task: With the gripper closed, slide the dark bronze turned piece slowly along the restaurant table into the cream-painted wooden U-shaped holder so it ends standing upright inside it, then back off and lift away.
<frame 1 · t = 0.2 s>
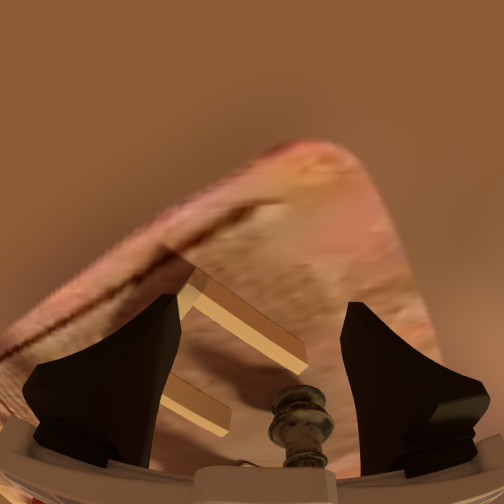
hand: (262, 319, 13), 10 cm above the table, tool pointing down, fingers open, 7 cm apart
shaker holder: (211, 353, 26), on the table
dark bronze turned piece: (298, 403, 28), on the table
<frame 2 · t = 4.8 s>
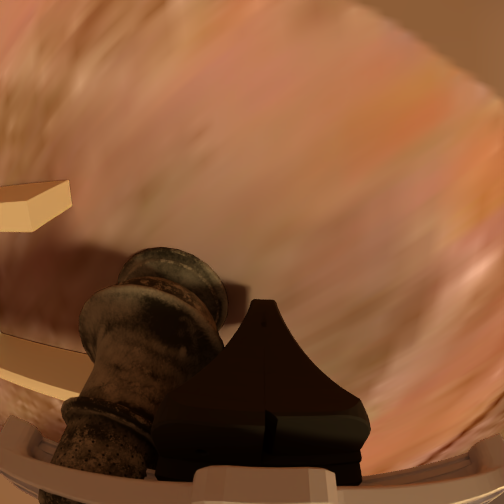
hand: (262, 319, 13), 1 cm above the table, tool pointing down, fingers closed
shaker holder: (17, 283, 14), on the table
dark bronze turned piece: (171, 297, 14), on the table, touching gripper
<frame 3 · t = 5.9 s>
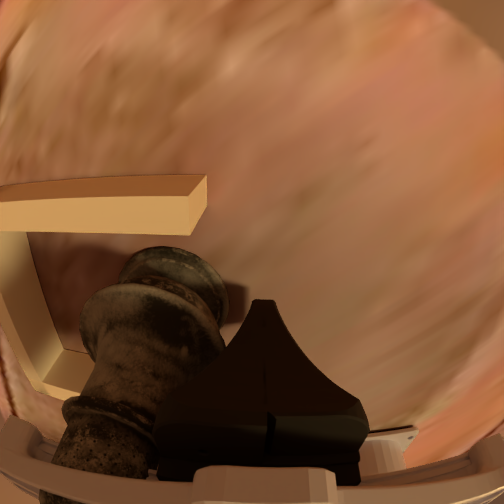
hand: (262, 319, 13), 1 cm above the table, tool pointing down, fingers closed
shaker holder: (103, 294, 14), on the table
dark bronze turned piece: (172, 297, 14), on the table, touching gripper
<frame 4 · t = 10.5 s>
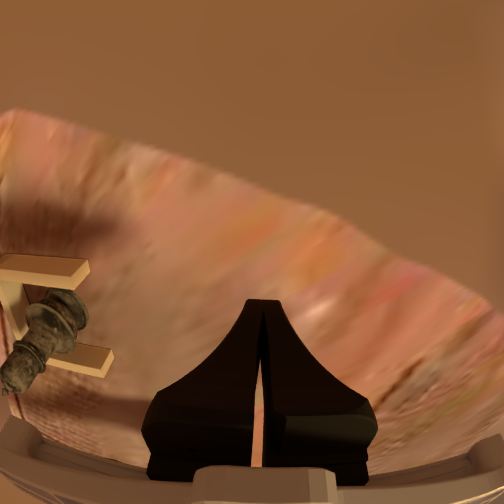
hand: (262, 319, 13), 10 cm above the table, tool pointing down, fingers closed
shaker holder: (56, 307, 27), on the table
dark bronze turned piece: (67, 307, 27), on the table
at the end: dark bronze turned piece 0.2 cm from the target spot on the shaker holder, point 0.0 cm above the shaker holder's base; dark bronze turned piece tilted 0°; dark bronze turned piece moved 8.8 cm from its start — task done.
